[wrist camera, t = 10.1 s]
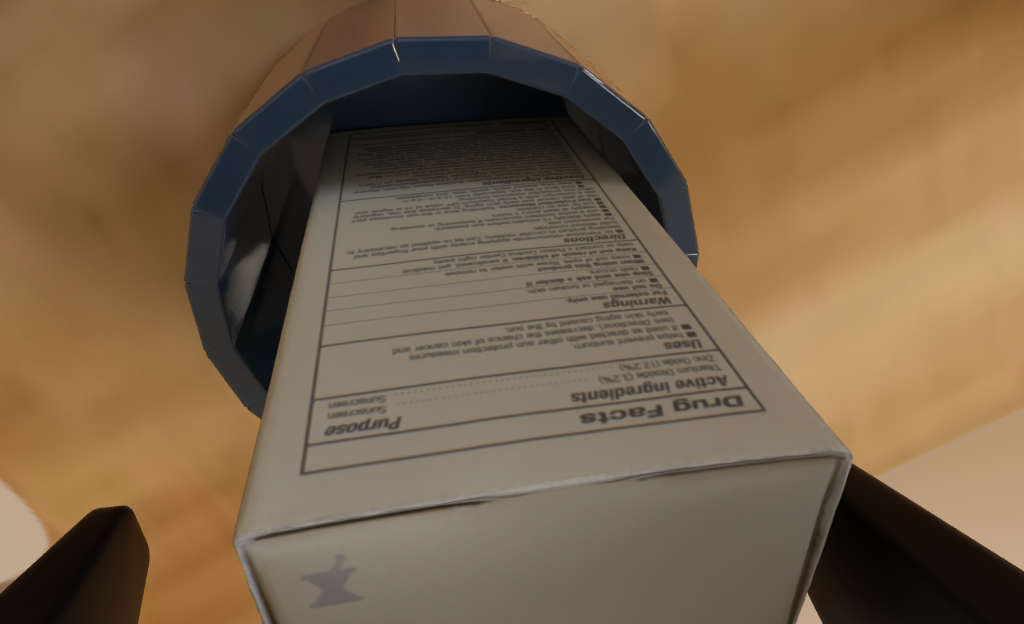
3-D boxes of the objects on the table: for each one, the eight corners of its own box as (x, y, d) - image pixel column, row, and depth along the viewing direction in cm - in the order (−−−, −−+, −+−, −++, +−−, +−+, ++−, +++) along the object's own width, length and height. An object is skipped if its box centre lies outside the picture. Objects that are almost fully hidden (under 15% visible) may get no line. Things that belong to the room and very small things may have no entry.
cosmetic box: (353, 282, 18) (299, 776, 8) (324, 120, 16) (196, 543, 6) (578, 261, 19) (782, 695, 9) (583, 103, 17) (872, 455, 6)
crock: (641, -13, 16) (740, 31, 11) (606, 334, 21) (662, 458, 17) (200, -9, 15) (110, 43, 10) (281, 358, 20) (247, 500, 16)
